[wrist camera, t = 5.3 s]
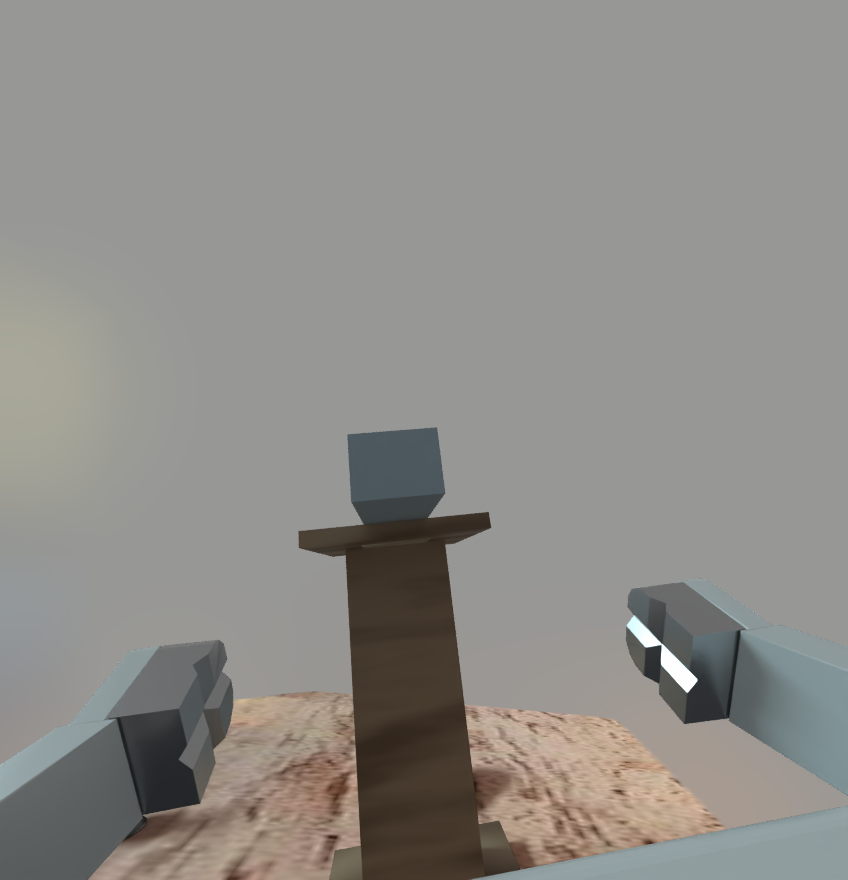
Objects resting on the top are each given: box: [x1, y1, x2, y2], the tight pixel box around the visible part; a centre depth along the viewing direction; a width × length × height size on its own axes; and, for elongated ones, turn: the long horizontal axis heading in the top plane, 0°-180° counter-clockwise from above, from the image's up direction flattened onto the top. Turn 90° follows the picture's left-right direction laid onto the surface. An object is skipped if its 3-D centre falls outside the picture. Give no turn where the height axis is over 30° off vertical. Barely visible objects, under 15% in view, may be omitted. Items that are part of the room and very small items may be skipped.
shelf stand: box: [299, 512, 520, 880], centre depth 31 cm, size 17×14×26 cm
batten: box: [348, 428, 445, 525], centre depth 30 cm, size 24×4×3 cm, turn 4°
